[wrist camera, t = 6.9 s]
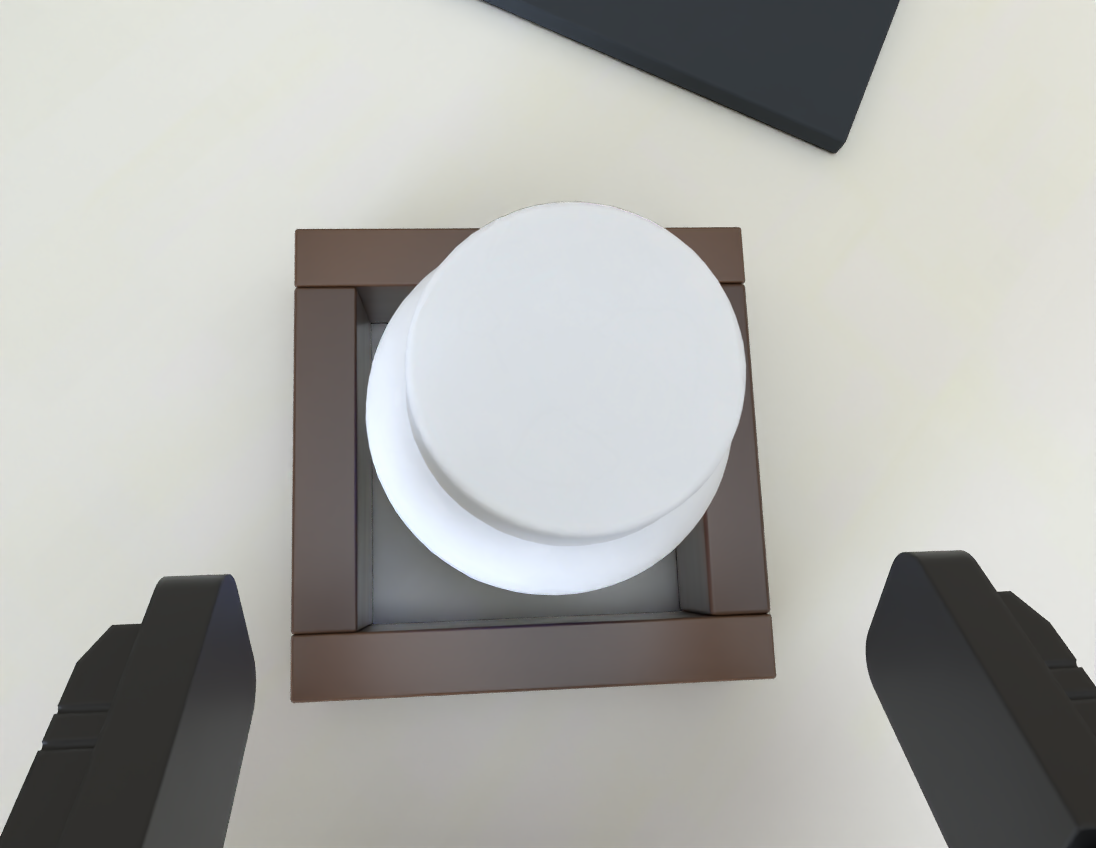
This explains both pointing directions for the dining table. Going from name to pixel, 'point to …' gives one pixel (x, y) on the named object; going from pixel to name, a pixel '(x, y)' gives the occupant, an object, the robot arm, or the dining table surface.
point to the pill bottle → (557, 399)
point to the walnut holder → (498, 644)
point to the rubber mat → (740, 51)
